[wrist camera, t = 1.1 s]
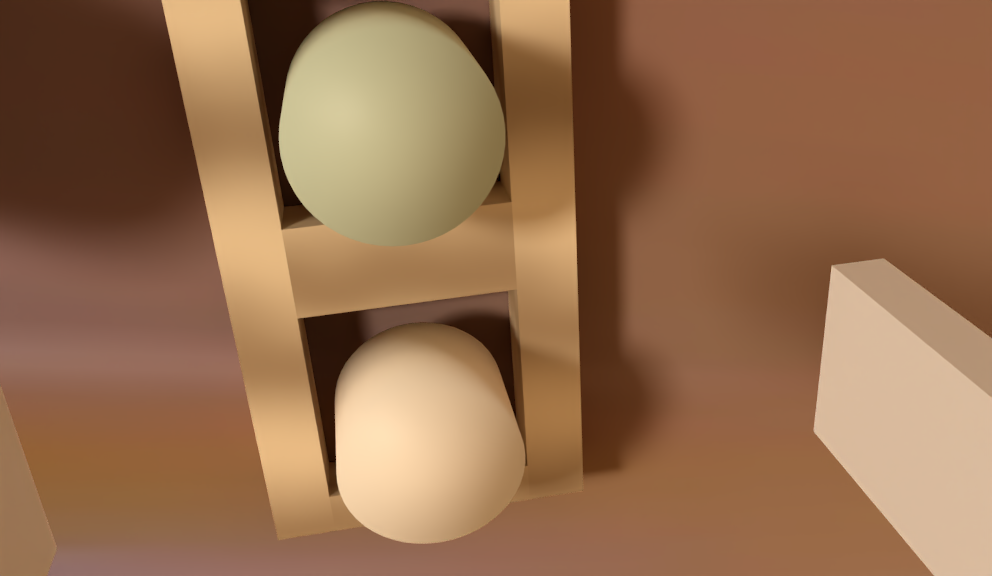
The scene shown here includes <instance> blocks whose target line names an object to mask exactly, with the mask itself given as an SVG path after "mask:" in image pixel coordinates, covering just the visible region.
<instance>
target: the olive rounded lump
mask: <svg viewBox="0 0 992 576" xmlns="http://www.w3.org/2000/svg"><path fill="white" fill-rule="evenodd" d="M279 148H280V156H281V160H282V164H283V168H284V171H285V174H286V176H287V179H288V181H289V183H290V185H291V187H292V189H293V191H294V192H295V194H296V196H297V197H298V198H299V200H300V201H301V202H302V204H303V205H304V206H305V207H306V209H307V210H308V211H309V212H310V213H311V214H312V215H313V216H314V217H315V218H317V219H318V220H319V221H320V222H322V223H323V224H324V225H325V226H327V227H329V228H330V229H332V230H334V231H335V232H337V233H339V234H341V235H343V236H345V237H348V238H350V239H353V240H356V241H359V242H362V243H367V244H372V245H378V246H407V245H412V244H417V243H422V242H425V241H428V240H431V239H434V238H436V237H439V236H441V235H443V234H445V233H447V232H449V231H450V230H452V229H454V228H455V227H457V226H459V225H460V224H461V223H462V222H464V221H465V220H466V219H467V218H469V217H470V216H471V215H472V214H473V213H474V212H475V211H476V210H477V209H478V208H479V206H480V205H481V204H482V202H483V201H484V200H485V199H486V197H487V196H488V194H489V192H490V191H491V189H492V187H493V185H494V184H495V181H496V179H497V176H498V174H499V172H500V168H501V165H502V161H503V157H504V150H505V123H504V116H503V112H502V108H501V104H500V101H499V99H498V96H497V94H496V91H495V89H494V87H493V86H492V84H491V82H490V80H489V79H488V77H487V75H486V74H485V73H484V71H483V70H482V68H481V67H480V66H479V64H478V63H477V61H476V60H475V58H474V57H473V56H472V54H471V53H470V51H469V50H468V49H467V47H466V46H465V44H464V43H463V42H462V41H461V39H460V38H459V37H458V35H457V34H456V33H455V32H454V31H453V30H452V29H451V28H450V27H449V26H448V25H446V24H445V23H444V22H442V21H441V20H440V19H438V18H437V17H435V16H434V15H432V14H430V13H428V12H426V11H425V10H422V9H419V8H417V7H414V6H411V5H407V4H403V3H399V2H390V1H373V2H366V3H360V4H357V5H353V6H350V7H347V8H345V9H342V10H340V11H338V12H336V13H334V14H332V15H331V16H329V17H328V18H326V19H325V20H323V21H322V22H321V23H320V24H318V25H317V26H316V27H315V28H314V29H313V30H312V31H311V32H310V33H309V34H308V35H307V37H306V38H305V39H304V40H303V42H302V43H301V45H300V46H299V48H298V49H297V51H296V53H295V55H294V57H293V59H292V62H291V65H290V68H289V71H288V74H287V79H286V85H285V91H284V98H283V104H282V111H281V117H280V124H279Z"/></svg>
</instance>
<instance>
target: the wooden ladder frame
mask: <svg viewBox="0 0 992 576" xmlns="http://www.w3.org/2000/svg"><path fill="white" fill-rule="evenodd" d="M162 4H163V9H164V14H165V18H166V23H167V27H168V32H169V37H170V41H171V46H172V51H173V55H174V60H175V64H176V69H177V74H178V78H179V83H180V88H181V92H182V97H183V102H184V106H185V111H186V115H187V120H188V125H189V129H190V134H191V139H192V143H193V148H194V153H195V157H196V162H197V166H198V171H199V176H200V180H201V185H202V190H203V194H204V199H205V204H206V208H207V213H208V217H209V222H210V227H211V231H212V236H213V241H214V245H215V250H216V255H217V259H218V264H219V268H220V273H221V278H222V282H223V287H224V292H225V296H226V301H227V305H228V310H229V315H230V319H231V324H232V329H233V333H234V338H235V343H236V347H237V352H238V356H239V361H240V366H241V370H242V375H243V380H244V384H245V389H246V394H247V398H248V403H249V407H250V412H251V417H252V421H253V426H254V431H255V435H256V440H257V445H258V449H259V454H260V458H261V463H262V468H263V472H264V477H265V482H266V486H267V491H268V496H269V500H270V505H271V509H272V514H273V519H274V523H275V528H276V533H277V537H278V540H281V539H288V538H294V537H300V536H306V535H313V534H319V533H325V532H331V531H337V530H344V529H350V528H356V527H362V526H364V525H363V524H362V523H361V522H359V521H358V520H357V519H356V518H355V517H354V516H353V515H352V513H351V512H350V511H349V510H348V508H347V507H346V505H345V503H344V502H343V499H342V497H341V495H340V492H339V488H338V484H337V475H336V462H330V463H329V460H328V454H327V448H326V443H325V437H324V431H323V426H322V420H321V414H320V409H319V403H318V397H317V392H316V386H315V380H314V375H313V369H312V363H311V358H310V352H309V346H308V341H307V335H306V329H305V324H304V318H306V317H313V316H321V315H328V314H336V313H343V312H351V311H358V310H366V309H373V308H381V307H388V306H396V305H404V304H411V303H419V302H426V301H434V300H441V299H449V298H456V297H464V296H471V295H479V294H486V293H494V292H501V291H508V301H509V316H510V332H511V347H512V362H513V377H514V393H515V408H516V421H517V424H518V427H519V430H520V433H521V436H522V440H523V443H524V448H525V468H524V474H523V477H522V480H521V483H520V486H519V488H518V490H517V492H516V494H515V495H514V497H513V498H512V500H511V501H510V503H511V502H517V501H523V500H530V499H536V498H542V497H548V496H554V495H561V494H567V493H573V492H579V491H583V457H582V422H581V386H580V351H579V316H578V281H577V246H576V210H575V175H574V140H573V105H572V70H571V34H570V0H489V11H490V26H491V42H492V57H493V72H494V87H495V91H496V94H497V96H498V99H499V101H500V104H501V108H502V112H503V116H504V123H505V150H504V157H503V161H502V165H501V168H500V179H501V181H497V182H495V184H494V185H493V187H492V189H491V191H490V192H489V194H488V196H487V197H486V199H485V200H484V201H483V202H482V204H481V205H480V206H479V208H478V209H477V210H476V211H475V212H474V213H473V214H472V215H471V216H470V217H469V218H467V219H466V220H465V221H464V222H462V223H461V224H460V225H459V226H457V227H455V228H454V229H452V230H450V231H449V232H447V233H445V234H443V235H441V236H439V237H436V238H434V239H431V240H428V241H425V242H422V243H417V244H412V245H407V246H378V245H372V244H367V243H362V242H359V241H356V240H353V239H350V238H348V237H345V236H343V235H341V234H339V233H337V232H335V231H334V230H332V229H330V228H329V227H327V226H325V225H324V224H323V223H322V222H320V221H319V220H318V219H317V218H315V217H314V216H313V215H312V214H311V213H310V212H309V211H308V210H307V209H306V207H305V206H304V205H295V206H286V207H284V204H283V199H282V193H281V187H280V182H279V176H278V170H277V165H276V159H275V153H274V148H273V142H272V136H271V131H270V125H269V119H268V114H267V108H266V102H265V97H264V91H263V85H262V80H261V74H260V68H259V63H258V57H257V51H256V46H255V40H254V34H253V29H252V23H251V17H250V12H249V6H248V0H162Z"/></svg>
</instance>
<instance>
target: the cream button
mask: <svg viewBox="0 0 992 576" xmlns="http://www.w3.org/2000/svg"><path fill="white" fill-rule="evenodd" d="M335 435H336V475H337V484H338V488H339V492H340V495H341V497H342V499H343V502H344V503H345V505H346V507H347V508H348V510H349V511H350V512H351V513H352V515H353V516H354V517H355V518H356V519H357V520H358V521H359V522H361V523H362V524H363V525H364V526H365V527H367V528H369V529H370V530H372V531H373V532H375V533H377V534H380V535H382V536H384V537H387V538H390V539H393V540H397V541H402V542H407V543H437V542H444V541H448V540H453V539H456V538H459V537H462V536H465V535H467V534H469V533H471V532H474V531H476V530H477V529H479V528H481V527H483V526H484V525H486V524H487V523H489V522H490V521H491V520H493V519H494V518H495V517H496V516H497V515H498V514H500V513H501V512H502V511H503V510H504V508H505V507H506V506H507V505H508V504H509V503H510V501H511V500H512V498H513V497H514V495H515V494H516V492H517V490H518V488H519V486H520V483H521V480H522V477H523V474H524V468H525V448H524V443H523V440H522V436H521V433H520V430H519V427H518V424H517V421H516V418H515V416H514V413H513V410H512V407H511V404H510V401H509V398H508V395H507V392H506V389H505V386H504V383H503V380H502V377H501V374H500V371H499V368H498V366H497V363H496V361H495V359H494V358H493V356H492V355H491V353H490V352H489V350H488V349H487V348H486V347H485V346H484V345H483V344H482V343H481V342H479V341H478V340H477V339H476V338H474V337H473V336H471V335H470V334H468V333H466V332H464V331H462V330H460V329H457V328H455V327H452V326H448V325H445V324H438V323H427V322H420V323H409V324H404V325H399V326H396V327H393V328H390V329H387V330H385V331H383V332H381V333H379V334H377V335H375V336H374V337H372V338H370V339H369V340H367V341H366V342H365V343H364V344H362V345H361V346H360V347H359V348H358V349H357V350H356V351H355V352H354V353H353V354H352V355H351V357H350V358H349V359H348V361H347V362H346V363H345V365H344V367H343V369H342V371H341V373H340V375H339V378H338V381H337V385H336V390H335Z"/></svg>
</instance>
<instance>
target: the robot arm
mask: <svg viewBox="0 0 992 576" xmlns="http://www.w3.org/2000/svg"><path fill="white" fill-rule="evenodd" d="M814 432H815V434H816V435H817V436H818V437H819V438H820V440H821V441H822V442H823V443H824V444H825V446H826V447H827V448H828V449H829V450H830V452H831V453H832V454H833V455H834V456H835V458H836V459H837V460H838V461H839V462H840V463H841V465H842V466H843V467H844V468H845V469H846V471H847V472H848V473H849V474H850V475H851V477H852V478H853V479H854V480H855V481H856V483H857V484H858V485H859V486H860V487H861V489H862V490H863V491H864V492H865V493H866V495H867V496H868V497H869V498H870V499H871V501H872V502H873V503H874V504H875V505H876V507H877V508H878V509H879V510H880V511H881V513H882V514H883V515H884V516H885V517H886V519H887V520H888V521H889V522H890V523H891V524H892V526H893V527H894V528H895V529H896V530H897V532H898V533H899V534H900V535H901V536H902V538H903V539H904V540H905V541H906V542H907V544H908V545H909V546H910V547H911V548H912V550H913V551H914V552H915V553H916V554H917V556H918V557H919V558H920V559H921V560H922V562H923V563H924V564H925V565H926V566H927V568H928V569H929V570H930V571H931V572H932V574H933V575H934V576H992V338H991V337H989V336H988V335H987V334H985V333H984V332H983V331H981V330H980V329H978V328H977V327H976V326H974V325H973V324H972V323H970V322H969V321H968V320H966V319H965V318H964V317H962V316H961V315H960V314H958V313H957V312H955V311H954V310H953V309H951V308H950V307H949V306H947V305H946V304H945V303H943V302H942V301H941V300H939V299H938V298H937V297H935V296H934V295H932V294H931V293H930V292H928V291H927V290H926V289H924V288H923V287H922V286H920V285H919V284H918V283H916V282H915V281H914V280H912V279H911V278H909V277H908V276H907V275H905V274H904V273H903V272H901V271H900V270H899V269H897V268H896V267H895V266H893V265H892V264H891V263H889V262H888V261H886V260H885V259H884V258H883V259H876V260H868V261H861V262H853V263H845V264H838V265H832V268H831V277H830V286H829V295H828V304H827V313H826V323H825V332H824V341H823V350H822V359H821V369H820V378H819V387H818V396H817V405H816V414H815V424H814ZM56 550H57V547H56V544H55V541H54V538H53V535H52V532H51V530H50V527H49V524H48V521H47V518H46V515H45V512H44V509H43V506H42V504H41V501H40V498H39V495H38V492H37V489H36V486H35V483H34V481H33V478H32V475H31V472H30V469H29V466H28V463H27V460H26V458H25V455H24V452H23V449H22V446H21V443H20V440H19V437H18V434H17V432H16V429H15V426H14V423H13V420H12V417H11V414H10V411H9V409H8V406H7V403H6V400H5V397H4V394H3V391H2V388H1V386H0V576H47V574H48V571H49V569H50V566H51V563H52V561H53V558H54V555H55V553H56Z"/></svg>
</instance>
